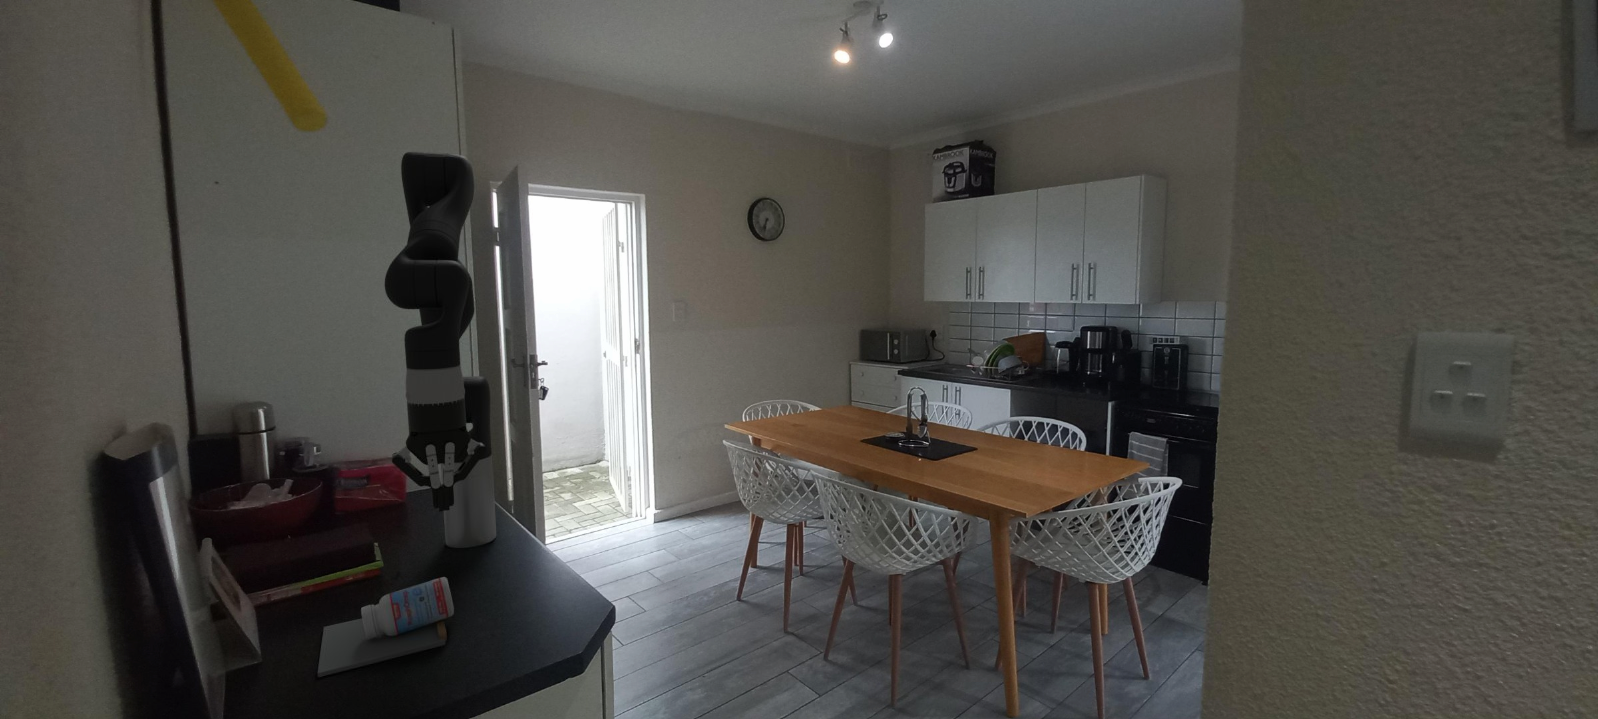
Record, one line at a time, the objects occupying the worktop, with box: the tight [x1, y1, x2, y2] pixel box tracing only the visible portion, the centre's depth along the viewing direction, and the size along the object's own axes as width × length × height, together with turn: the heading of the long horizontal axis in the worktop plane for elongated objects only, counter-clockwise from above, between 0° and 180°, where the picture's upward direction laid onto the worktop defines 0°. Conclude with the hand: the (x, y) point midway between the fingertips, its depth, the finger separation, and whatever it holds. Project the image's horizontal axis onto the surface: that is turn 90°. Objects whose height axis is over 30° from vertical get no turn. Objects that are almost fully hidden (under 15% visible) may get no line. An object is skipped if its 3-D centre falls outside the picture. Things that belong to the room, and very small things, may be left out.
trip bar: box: [436, 619, 448, 642], centre depth 102 cm, size 12×1×1 cm, turn 32°
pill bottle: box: [360, 576, 455, 639], centre depth 99 cm, size 6×6×11 cm
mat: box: [317, 617, 446, 678], centre depth 98 cm, size 14×15×1 cm
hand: (443, 509), depth 101 cm, fingers closed
